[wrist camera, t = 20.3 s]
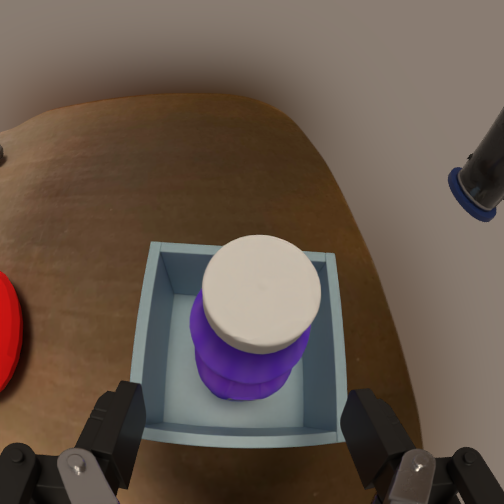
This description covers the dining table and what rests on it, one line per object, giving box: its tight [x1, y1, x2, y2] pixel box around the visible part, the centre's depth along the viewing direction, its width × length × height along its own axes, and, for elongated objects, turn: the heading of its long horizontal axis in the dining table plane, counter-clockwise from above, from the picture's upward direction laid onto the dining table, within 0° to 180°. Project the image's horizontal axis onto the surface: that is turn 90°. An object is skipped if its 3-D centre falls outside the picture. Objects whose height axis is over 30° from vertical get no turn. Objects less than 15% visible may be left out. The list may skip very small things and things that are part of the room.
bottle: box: [189, 235, 321, 402], centre depth 17 cm, size 7×6×17 cm
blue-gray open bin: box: [130, 242, 347, 448], centre depth 22 cm, size 14×14×9 cm
